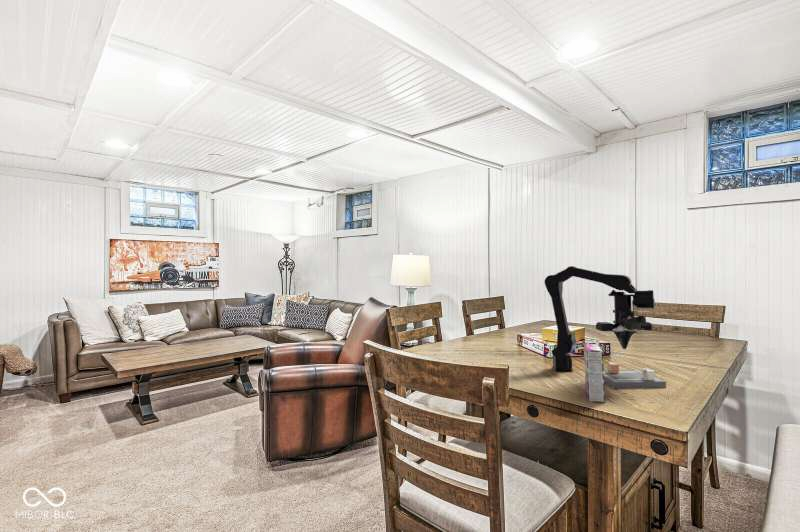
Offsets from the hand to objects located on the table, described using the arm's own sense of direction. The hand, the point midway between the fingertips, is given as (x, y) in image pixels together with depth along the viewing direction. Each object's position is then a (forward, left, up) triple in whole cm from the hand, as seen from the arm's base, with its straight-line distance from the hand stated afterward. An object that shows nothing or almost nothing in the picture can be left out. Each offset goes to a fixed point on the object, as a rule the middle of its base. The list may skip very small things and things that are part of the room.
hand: (624, 348), depth 152 cm
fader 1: (-5, 0, -9) cm, 10 cm away
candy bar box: (-22, -22, -11) cm, 33 cm away
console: (-2, -5, -11) cm, 12 cm away
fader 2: (+3, -10, -9) cm, 14 cm away
